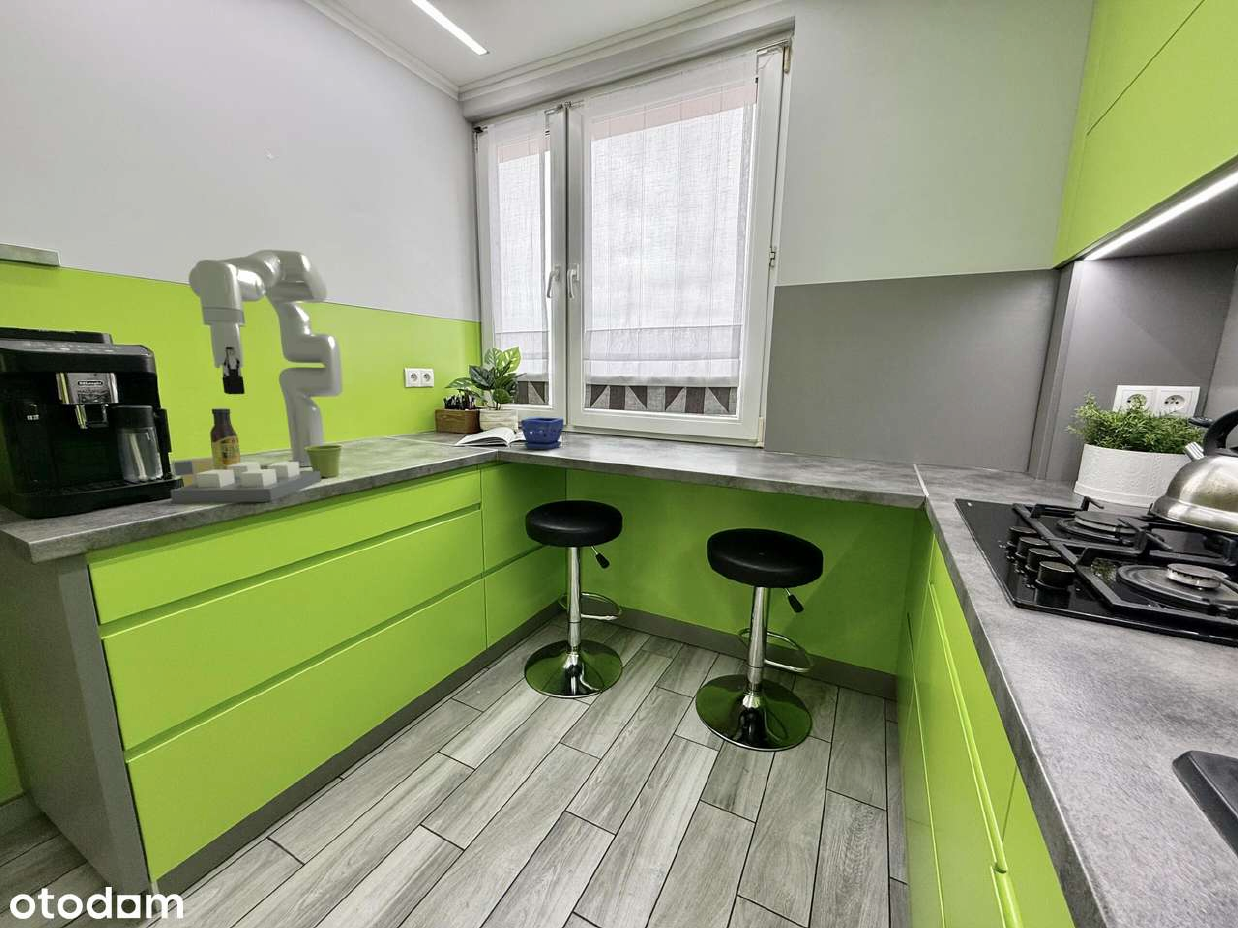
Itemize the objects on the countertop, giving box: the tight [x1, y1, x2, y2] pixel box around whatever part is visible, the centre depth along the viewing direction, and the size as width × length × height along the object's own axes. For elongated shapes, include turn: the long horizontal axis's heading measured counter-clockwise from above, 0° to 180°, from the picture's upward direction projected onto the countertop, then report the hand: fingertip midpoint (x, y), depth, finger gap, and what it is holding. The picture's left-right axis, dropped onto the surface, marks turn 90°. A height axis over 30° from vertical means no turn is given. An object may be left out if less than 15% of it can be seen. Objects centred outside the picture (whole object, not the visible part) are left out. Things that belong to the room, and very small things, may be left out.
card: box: [170, 456, 214, 486], centre depth 125 cm, size 1×8×8 cm, turn 134°
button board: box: [169, 470, 322, 504], centre depth 123 cm, size 22×22×3 cm
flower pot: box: [520, 417, 564, 451], centre depth 196 cm, size 13×13×12 cm
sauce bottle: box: [209, 407, 242, 470], centre depth 139 cm, size 6×6×20 cm
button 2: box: [227, 461, 262, 478], centre depth 128 cm, size 5×5×4 cm
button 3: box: [240, 468, 277, 487], centre depth 118 cm, size 5×5×4 cm
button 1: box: [196, 470, 235, 487], centre depth 118 cm, size 5×5×4 cm
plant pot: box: [305, 444, 343, 479], centre depth 141 cm, size 9×9×9 cm
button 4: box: [266, 461, 301, 478], centre depth 128 cm, size 5×5×4 cm
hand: (234, 393), depth 114 cm, fingers open, 9 cm apart
